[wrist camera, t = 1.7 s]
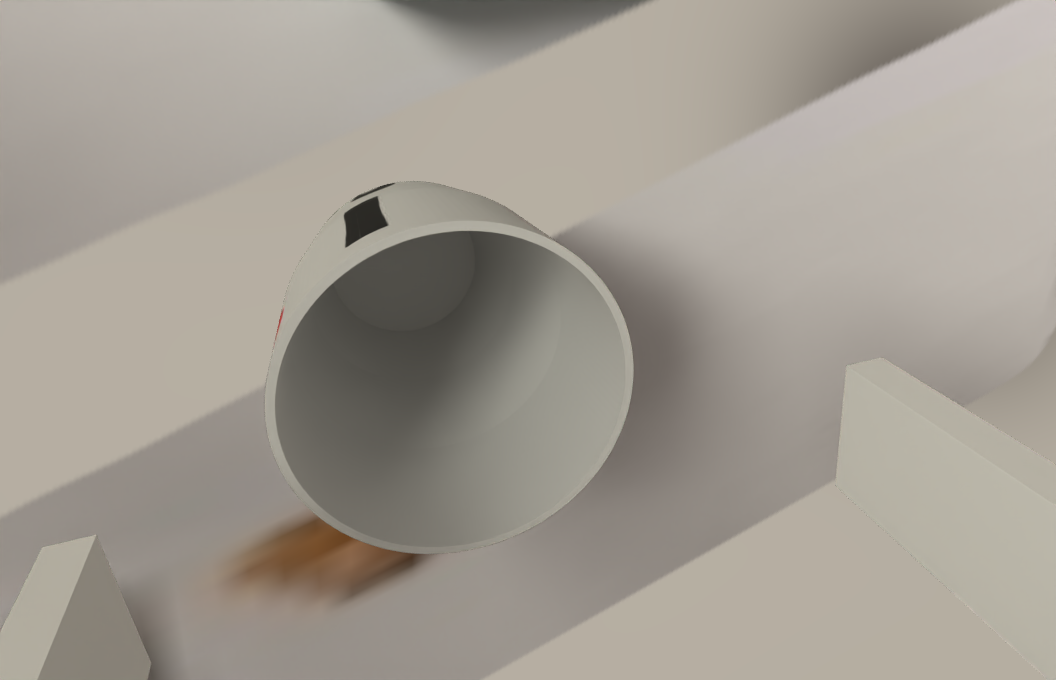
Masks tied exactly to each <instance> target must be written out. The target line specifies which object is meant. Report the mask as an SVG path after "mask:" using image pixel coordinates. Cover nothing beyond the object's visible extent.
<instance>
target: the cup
mask: <svg viewBox="0 0 1056 680" xmlns="http://www.w3.org/2000/svg"><path fill="white" fill-rule="evenodd" d="M633 372H634V368H633V353H632V346H631V341H630V336H629V332H628V329H627V325H626V323H625V320H624V317H623V315H622V312H621V310H620V308H619V306H618V304H617V302H616V300H615V299H614V297H613V295H612V294H611V292H610V291H609V289H608V288H607V286H606V285H605V284H604V282H603V281H602V280H601V279H600V277H599V276H598V275H597V274H596V273H595V272H594V271H593V270H592V269H591V268H590V267H589V266H588V265H587V264H586V263H585V262H584V261H583V260H581V259H580V258H579V257H578V256H576V255H575V254H574V253H572V252H571V251H569V250H568V249H566V248H565V247H564V246H562V245H561V244H559V243H558V242H556V241H555V240H553V239H552V238H551V237H549V236H548V235H546V234H545V233H543V232H542V231H540V230H539V229H537V228H536V227H535V226H533V225H532V224H530V223H528V222H527V221H526V220H524V219H523V218H522V217H520V216H519V215H517V214H516V213H514V212H513V211H511V210H510V209H508V208H507V207H505V206H503V205H501V204H499V203H497V202H495V201H493V200H491V199H488V198H486V197H483V196H480V195H477V194H473V193H470V192H466V191H463V190H459V189H455V188H452V187H448V186H445V185H441V184H435V183H430V182H421V181H410V182H409V181H408V182H397V183H392V184H387V185H383V186H380V187H377V188H374V189H371V190H369V191H367V192H364V193H362V194H360V195H359V196H357V197H355V198H353V199H352V200H350V201H349V202H347V203H346V204H345V205H343V206H342V207H341V208H340V209H339V210H337V211H336V212H335V213H334V214H333V215H332V216H331V217H330V218H329V219H328V221H327V222H326V223H325V224H324V226H323V227H322V228H321V230H320V231H319V233H318V234H317V236H316V237H315V239H314V241H313V242H312V244H311V245H310V247H309V248H308V250H307V251H306V253H305V254H304V256H303V257H302V259H301V260H300V262H299V264H298V266H297V268H296V269H295V272H294V273H293V276H292V278H291V281H290V283H289V285H288V288H287V291H286V295H285V299H284V303H283V308H282V312H281V316H280V320H279V325H278V329H277V334H276V338H275V343H274V347H273V351H272V356H271V361H270V365H269V369H268V374H267V379H266V386H265V400H264V409H265V423H266V429H267V434H268V439H269V443H270V446H271V449H272V452H273V455H274V458H275V460H276V463H277V465H278V467H279V469H280V471H281V473H282V474H283V476H284V478H285V480H286V481H287V483H288V484H289V486H290V487H291V488H292V490H293V491H294V492H295V494H296V495H297V496H298V497H299V499H300V500H301V501H302V502H303V503H304V504H305V505H306V506H307V507H308V508H309V509H310V510H311V511H312V512H313V513H315V514H316V515H317V516H318V517H319V518H321V519H322V520H323V521H325V522H326V523H328V524H329V525H331V526H332V527H334V528H335V529H337V530H339V531H340V532H342V533H344V534H346V535H348V536H350V537H352V538H354V539H357V540H359V541H362V542H364V543H367V544H370V545H373V546H376V547H380V548H384V549H388V550H393V551H399V552H406V553H416V554H444V553H454V552H462V551H468V550H473V549H477V548H481V547H485V546H489V545H492V544H495V543H498V542H501V541H504V540H506V539H509V538H511V537H514V536H516V535H518V534H520V533H523V532H525V531H527V530H528V529H530V528H532V527H534V526H536V525H538V524H539V523H541V522H542V521H544V520H546V519H547V518H549V517H550V516H552V515H553V514H554V513H556V512H557V511H559V510H560V509H561V508H562V507H564V506H565V505H566V504H567V503H568V502H570V501H571V500H572V499H573V498H574V497H575V496H576V495H577V494H578V493H579V492H580V491H581V490H582V489H583V488H584V487H585V486H586V485H587V484H588V483H589V482H590V480H591V479H592V478H593V477H594V476H595V474H596V473H597V472H598V471H599V469H600V468H601V466H602V465H603V464H604V462H605V461H606V459H607V457H608V456H609V454H610V452H611V451H612V449H613V447H614V445H615V443H616V441H617V439H618V437H619V435H620V432H621V430H622V428H623V425H624V422H625V419H626V416H627V413H628V409H629V405H630V400H631V395H632V388H633Z"/></svg>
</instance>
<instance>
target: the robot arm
mask: <svg viewBox="0 0 1056 680" xmlns="http://www.w3.org/2000/svg"><path fill="white" fill-rule="evenodd" d="M835 486H836V487H837V488H838V489H839V490H840V491H841V492H843V493H844V494H845V495H846V496H847V497H848V498H849V499H850V500H851V501H853V503H855V504H856V505H857V506H858V507H859V508H860V509H861V510H862V511H863V512H864V513H866V514H867V515H868V516H869V517H870V518H871V519H872V520H873V521H874V522H875V523H877V524H878V525H879V526H880V527H881V528H882V529H883V530H884V531H885V532H886V533H887V534H889V535H890V536H891V537H892V538H893V539H894V540H895V541H896V542H897V543H899V545H901V546H902V547H903V548H904V549H905V550H906V551H907V552H908V553H909V554H910V555H911V556H913V557H914V558H915V559H916V560H917V561H918V562H919V563H920V564H921V565H922V566H923V567H925V568H926V569H927V570H928V571H929V572H930V573H931V574H932V575H933V576H935V577H936V578H937V579H938V580H939V581H940V582H941V583H942V584H943V585H944V586H945V587H946V588H948V589H949V590H950V591H951V592H952V593H953V594H954V595H955V596H956V597H958V598H959V599H960V600H961V601H962V602H963V603H964V604H965V605H966V606H967V607H968V608H969V609H971V610H972V611H973V612H974V613H975V614H976V615H977V616H978V617H979V618H980V619H981V620H983V621H984V622H985V623H986V624H987V625H988V626H989V627H990V628H991V629H992V630H994V631H995V632H996V633H997V634H998V635H999V636H1000V637H1001V638H1002V639H1003V640H1004V641H1006V642H1007V643H1008V644H1009V645H1010V646H1011V647H1012V648H1013V649H1014V650H1016V651H1017V652H1018V653H1019V654H1020V655H1021V656H1022V657H1023V658H1024V659H1025V660H1026V661H1028V662H1029V663H1030V664H1031V665H1032V666H1033V667H1034V668H1035V669H1036V670H1037V671H1038V672H1039V673H1041V674H1042V675H1043V676H1044V677H1045V678H1046V679H1047V680H1056V464H1055V463H1053V462H1052V461H1050V460H1048V459H1047V458H1045V457H1044V456H1042V455H1040V454H1039V453H1037V452H1035V451H1034V450H1032V449H1030V448H1029V447H1027V446H1026V445H1024V444H1022V443H1021V442H1019V441H1017V440H1016V439H1014V438H1012V437H1011V436H1009V435H1008V434H1006V433H1004V432H1003V431H1001V430H1000V429H998V428H996V427H994V426H993V425H991V424H990V423H988V422H986V421H985V420H983V419H981V418H980V417H978V416H977V415H975V414H973V413H972V412H970V411H969V410H967V409H965V408H964V407H962V406H960V405H959V404H957V403H956V402H954V401H952V400H951V399H949V398H947V397H946V396H944V395H943V394H941V393H939V392H938V391H936V390H934V389H933V388H931V387H929V386H928V385H926V384H925V383H923V382H921V381H920V380H918V379H916V378H915V377H913V376H912V375H910V374H908V373H907V372H905V371H903V370H902V369H900V368H899V367H897V366H895V365H894V364H892V363H890V362H889V361H887V360H885V359H884V358H877V359H873V360H868V361H864V362H859V363H855V364H851V365H846V375H845V386H844V396H843V407H842V418H841V429H840V439H839V450H838V461H837V472H836V483H835ZM150 667H151V661H150V659H149V657H148V654H147V652H146V650H145V647H144V645H143V643H142V640H141V638H140V636H139V633H138V631H137V629H136V626H135V624H134V622H133V619H132V617H131V615H130V612H129V610H128V608H127V605H126V603H125V601H124V598H123V596H122V594H121V591H120V589H119V587H118V584H117V582H116V580H115V577H114V575H113V573H112V570H111V568H110V566H109V563H108V561H107V559H106V556H105V554H104V552H103V549H102V547H101V545H100V542H99V540H98V538H97V535H94V536H89V537H85V538H80V539H76V540H72V541H67V542H63V543H58V544H54V545H49V546H45V547H42V549H41V551H40V553H39V555H38V557H37V559H36V561H35V563H34V565H33V567H32V569H31V571H30V573H29V575H28V577H27V579H26V581H25V583H24V585H23V587H22V589H21V591H20V593H19V595H18V597H17V599H16V601H15V603H14V605H13V607H12V609H11V611H10V613H9V615H8V617H7V619H6V621H5V623H4V625H3V627H2V629H1V631H0V680H147V679H148V675H149V671H150Z"/></svg>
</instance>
